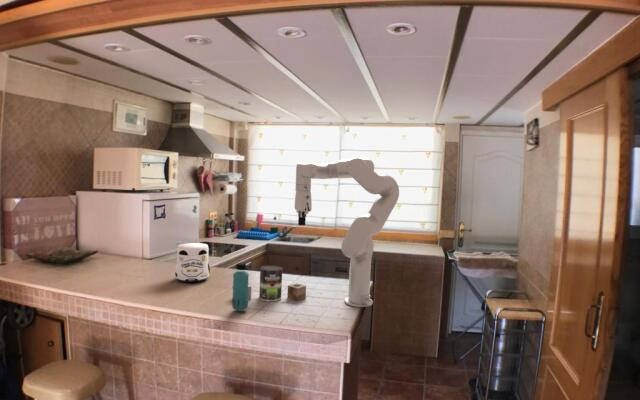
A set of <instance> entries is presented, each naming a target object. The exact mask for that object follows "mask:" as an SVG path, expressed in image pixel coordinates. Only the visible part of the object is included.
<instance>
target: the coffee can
mask: <svg viewBox="0 0 640 400" xmlns="http://www.w3.org/2000/svg"><path fill="white" fill-rule="evenodd" d="M283 269H284V268H283V267H282V266H278V265H274V264H273V265H270V264H269V265H267V264H266V265H262V266H260V267H259V295H258V296H259V297H258V298H259V300H260V301H264V302H277V301H280V300H281V299H282V289H283V288H282V287H283V286H282V284H283V281H282V280H283Z"/></svg>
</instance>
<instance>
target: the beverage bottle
mask: <svg viewBox="0 0 640 400" xmlns="http://www.w3.org/2000/svg"><path fill="white" fill-rule="evenodd" d="M235 270H236V271H235V272H234V273H233V280H232V300H231V303H232V309H233V310H236V311H244V310H247V309H248V306H249V300H248V283H249V275H250V274H249V273H248V272H247V271H246V270H247V264H246V263H244V262H238V263H236V265H235Z"/></svg>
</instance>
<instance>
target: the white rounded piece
mask: <svg viewBox="0 0 640 400" xmlns="http://www.w3.org/2000/svg"><path fill="white" fill-rule="evenodd" d="M209 250H210V248H209V245H208V244H207V243H201V242H199V243H197V242H191V243H190V242H189V243H187V242H186V243H181V244H178V245H177V246H176V252H177V253H176V266H175V269H174V276H175V278H176V279H177V280H178V281H180V282H184V283H195V282H201V281H205V280H206V279H208V278H209V276H210V273H211V268H210V264H209Z"/></svg>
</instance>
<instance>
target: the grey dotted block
mask: <svg viewBox="0 0 640 400" xmlns="http://www.w3.org/2000/svg"><path fill="white" fill-rule="evenodd" d="M251 284H252V283H250V282H248V301H250V300H252V285H251Z"/></svg>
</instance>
